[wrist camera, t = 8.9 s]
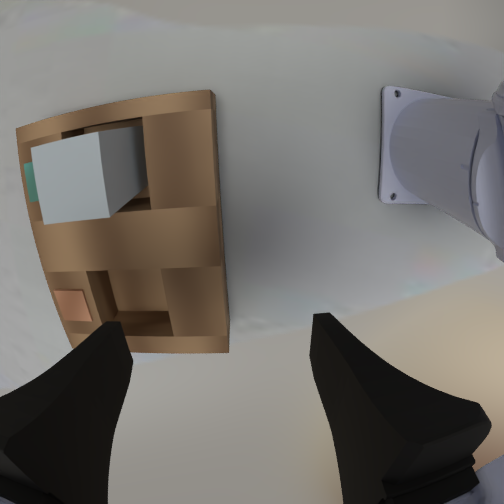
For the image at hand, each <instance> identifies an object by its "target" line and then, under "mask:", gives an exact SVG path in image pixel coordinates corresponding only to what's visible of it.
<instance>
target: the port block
mask: <svg viewBox="0 0 504 504" xmlns="http://www.w3.org/2000/svg"><path fill="white" fill-rule="evenodd" d="M142 125H143V134H144V146H145V157H146V167H147V177H148V186H147V187H145V188H144V189H143V190H142V191H141V192H139V193H138V194H137V195H136V196H134V197H133V198H132V199H131V200H130V201H128V202H127V203H126V204H125V205H124V206H123V207H121V208H120V209H119V210H118V211H117V212H116V213H114V214H113V215H112V216H111V217H110V218H100V219H90V220H81V221H72V222H63V223H54V224H46V225H44V222H43V217H42V213H41V208H40V203H39V198H38V193H37V187H36V181H35V175H34V169H33V162H32V154H31V148H32V147H36V146H39V145H43V144H47V143H51V142H55V141H59V140H63V139H67V138H71V137H75V136H80V135H84V134H89V133H94V132H99V131H105V130H112V129H119V128H126V127H134V126H142ZM16 136H17V146H18V154H19V162H20V169H21V176H22V182H23V188H24V194H25V199H26V204H27V209H28V214H29V218H30V223H31V227H32V231H33V235H34V239H35V243H36V247H37V250H38V254H39V257H40V261H41V264H42V268H43V271H44V274H45V277H46V280H47V283H48V286H49V289H50V292H51V295H52V298H53V301H54V304H55V306H56V309H57V312H58V314H59V317H60V320H61V322H62V325H63V327H64V330H65V332H66V334H67V337H68V339H69V342H70V344H71V346H72V348H76V347H77V346H78V345H79V344H80V343H81V342H82V341H84V340H85V339H86V338H87V337H88V336H89V335H90V334H91V333H93V332H94V331H95V330H96V329H97V328H98V327H100V326H101V325H102V324H103V323H105V322H106V321H120V322H121V325H122V328H123V332H124V335H125V338H126V341H127V344H128V347H129V350H130V352H138V353H229V334H230V318H229V306H228V294H227V282H226V269H225V256H224V242H223V228H222V213H221V197H220V181H219V163H218V144H217V123H216V100H215V94H214V93H213V92H212V91H211V90H200V91H189V92H180V93H171V94H163V95H156V96H149V97H143V98H136V99H130V100H125V101H119V102H114V103H109V104H104V105H99V106H95V107H90V108H86V109H82V110H78V111H74V112H70V113H66V114H62V115H58V116H55V117H51V118H48V119H44V120H41V121H38V122H35V123H31V124H28V125H25V126H22V127H19V128H16Z"/></svg>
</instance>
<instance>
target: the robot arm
mask: <svg viewBox="0 0 504 504" xmlns="http://www.w3.org/2000/svg"><path fill="white" fill-rule="evenodd" d="M395 91H397V92H398V97H396V96H395V95H394V92H395ZM392 193H394V197H393V198H392V199H390V196H391V194H392ZM379 199H380V200H381V201H382V202H383V203H389V204H431V205H433V206H435V207H436V208H438V209H440V210H442V211H443V212H445V213H447V214H448V215H450V216H452V217H453V218H455V219H457V220H458V221H460V222H462V223H463V224H465V225H466V226H468V227H470V228H471V229H473V230H474V231H476V232H477V233H479V234H481V235H482V236H484V237H485V238H487V239H488V240H490V241H491V242H492V243H493V244H494V246H495V249H496V256H497V258H499V259H500V260H501V261H503V262H504V81H502V82H501V84H500V85H499V87H498V89H497V91H496V92H495V93H494V94H493V96H492V101H489V100H473V99H454V98H450V97H446V96H442V95H438V94H433V93H428V92H424V91H418V90H413V89H408V88H402V87H396V86H385V87H384V88H383V90H382V147H381V169H380V184H379ZM309 356H310V361H311V366H312V371H313V376H314V380H315V383H316V386H317V389H318V392H319V394H320V398H321V401H322V404H323V407H324V409H325V412H326V416H327V418H328V421H329V424H330V428H331V431H332V436H333V441H334V446H335V451H336V456H337V462H338V468H339V473H340V480H341V488H342V495H343V504H504V455H502V456H500V457H499V458H497V459H495V460H494V461H492V462H490V463H488V464H486V465H485V466H483V467H481V468H480V469H479V470H477V471H476V472H474V469H473V467H472V466H473V465H474V464H475V459H474V457H473V455H472V453H473V452H474V451H475V450H476V449H477V448H478V446H479V445H480V444H481V443H482V442H483V441H484V439H485V438H486V437H487V435H488V434H489V432H490V429H491V426H492V425H491V421H490V420H489V418H488V416H487V415H486V414H485V412H484V410H483V409H482V407H481V406H480V404H479V403H477V402H473V401H469V400H465V399H462V398H459V397H455V396H452V395H449V394H447V393H444V392H442V391H439V390H437V389H434V388H432V387H430V386H428V385H425V384H423V383H421V382H419V381H417V380H416V379H414V378H412V377H410V376H408V375H406V374H405V373H403V372H401V371H400V370H398V369H396V368H395V367H393V366H392V365H390V364H389V363H387V362H386V361H385V360H383V359H382V358H380V357H379V356H378V355H377V354H375V353H374V352H373V351H371V350H370V349H369V348H368V347H366V346H365V345H364V344H363V343H362V342H361V341H359V340H358V339H357V338H356V337H355V336H354V335H353V334H352V333H351V332H349V331H348V330H347V329H346V328H345V327H344V326H343V325H342V324H341V323H340V322H339V321H338V320H337V319H336V318H335V317H334V316H333V315H332V314H331V313H319V314H313V325H312V335H311V345H310V355H309ZM132 366H133V359H132V356H131V353H130V350H129V347H128V344H127V341H126V338H125V335H124V332H123V328H122V325H121V322H120V321H106V322H105V323H103V324H102V325H101V326H100V327H98V328H97V329H96V330H95V331H94V332H93V333H91V334H90V335H89V336H88V337H87V338H86V339H85V340H84V341H82V342H81V343H80V344H79V345H78V346H77V347H76V348H74V349H73V350H72V351H71V352H70V353H68V354H67V355H66V356H65V357H64V358H62V359H61V360H60V361H59V362H57V363H56V364H55V365H54V366H52V367H51V368H50V369H48V370H47V371H46V372H44V373H43V374H41V375H40V376H38V377H37V378H35V379H34V380H32V381H30V382H28V383H27V384H25V385H23V386H21V387H20V388H18V389H16V390H14V391H12V392H10V393H8V394H6V395H4V396H2V397H0V504H108V476H109V465H110V456H111V448H112V443H113V437H114V432H115V428H116V424H117V421H118V418H119V415H120V412H121V409H122V405H123V402H124V399H125V396H126V393H127V389H128V386H129V383H130V377H131V372H132Z"/></svg>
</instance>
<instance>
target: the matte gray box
mask: <svg viewBox="0 0 504 504" xmlns="http://www.w3.org/2000/svg"><path fill="white" fill-rule="evenodd" d="M31 154H32V162H33V169H34V175H35V181H36V187H37V193H38V198H39V203H40V208H41V213H42V217H43V222H44V225H46V224H54V223H63V222H72V221H81V220H90V219H100V218H110V217H111V216H112V215H113V214H114V213H116V212H117V211H118V210H119V209H120V208H121V207H123V206H124V205H125V204H126V203H127V202H128V201H130V200H131V199H132V198H133V197H134V196H136V195H137V194H138V193H139V192H141V191H142V190H143V189H144V188H145V187H147V186H148V177H147V167H146V157H145V146H144V134H143V125H142V126H134V127H126V128H119V129H112V130H105V131H99V132H94V133H89V134H84V135H80V136H75V137H71V138H67V139H63V140H59V141H55V142H51V143H47V144H43V145H39V146H36V147H32V148H31Z"/></svg>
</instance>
